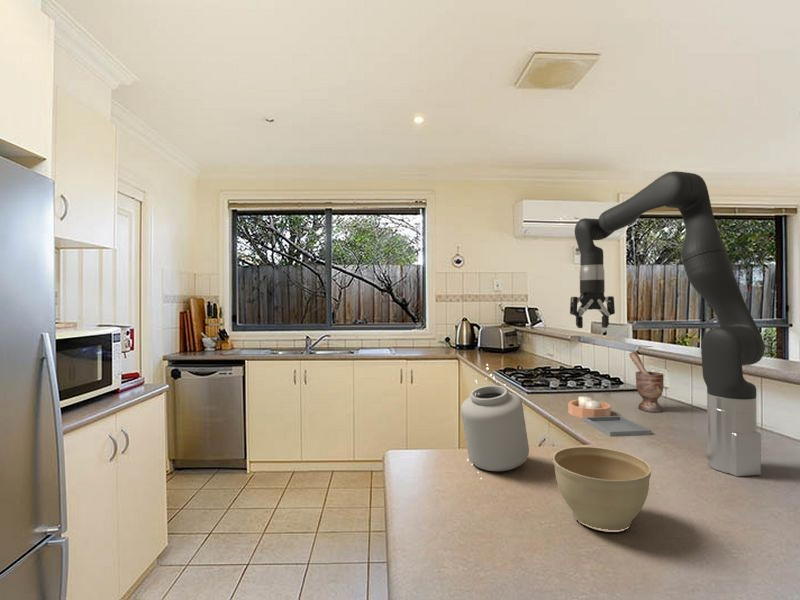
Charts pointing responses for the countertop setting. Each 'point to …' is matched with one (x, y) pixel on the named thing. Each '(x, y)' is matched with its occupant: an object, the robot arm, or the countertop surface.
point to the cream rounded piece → (592, 404)
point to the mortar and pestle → (648, 386)
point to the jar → (495, 428)
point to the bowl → (588, 410)
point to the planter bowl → (602, 485)
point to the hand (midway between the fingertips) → (592, 327)
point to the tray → (617, 426)
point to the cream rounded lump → (583, 401)
